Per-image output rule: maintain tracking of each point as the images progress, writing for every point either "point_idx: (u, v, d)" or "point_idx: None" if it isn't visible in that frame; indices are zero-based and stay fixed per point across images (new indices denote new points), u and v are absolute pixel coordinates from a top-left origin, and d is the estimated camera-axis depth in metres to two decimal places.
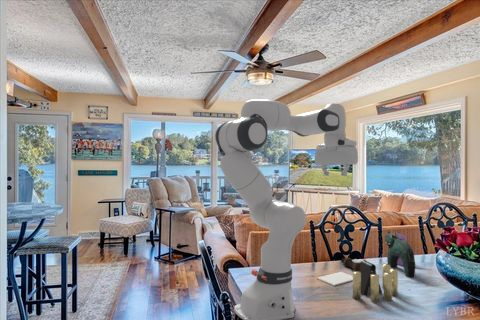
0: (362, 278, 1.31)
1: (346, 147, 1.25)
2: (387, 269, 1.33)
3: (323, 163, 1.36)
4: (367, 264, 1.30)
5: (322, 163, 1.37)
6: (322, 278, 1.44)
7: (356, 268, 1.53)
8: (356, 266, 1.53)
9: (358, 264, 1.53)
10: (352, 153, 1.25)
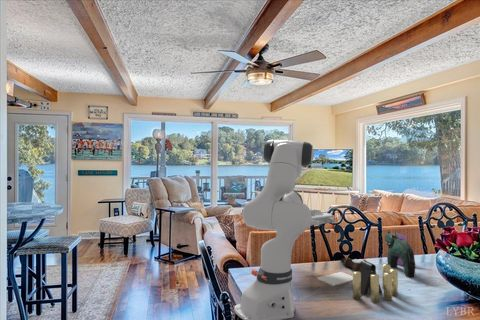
0: (362, 278, 1.31)
1: (321, 212, 1.65)
2: (387, 269, 1.33)
3: (311, 217, 1.53)
4: (367, 264, 1.30)
5: None
6: (322, 278, 1.44)
7: (357, 268, 1.52)
8: (357, 266, 1.53)
9: (359, 264, 1.53)
10: None
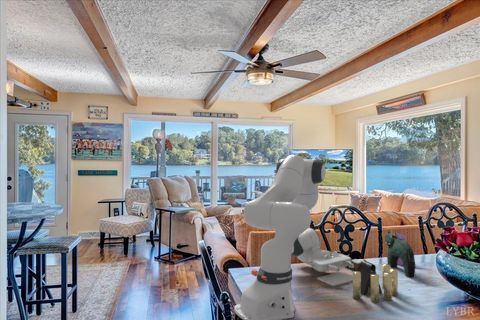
0: (362, 278, 1.31)
1: (338, 253, 1.55)
2: (387, 269, 1.33)
3: (329, 262, 1.43)
4: (367, 264, 1.30)
5: (328, 262, 1.43)
6: (322, 278, 1.44)
7: (359, 269, 1.52)
8: (359, 266, 1.52)
9: None
10: None
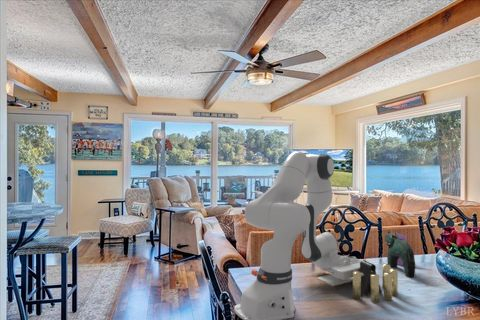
0: (362, 278, 1.31)
1: (357, 259, 1.45)
2: (387, 269, 1.33)
3: (349, 269, 1.34)
4: (367, 264, 1.30)
5: (348, 269, 1.33)
6: (322, 278, 1.44)
7: None
8: None
9: None
10: None
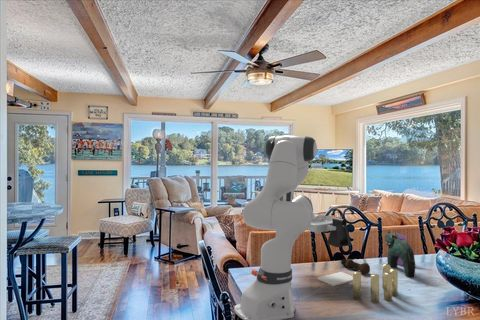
0: (334, 232, 1.43)
1: None
2: (387, 269, 1.33)
3: (323, 223, 1.47)
4: (339, 219, 1.43)
5: (322, 223, 1.46)
6: (322, 278, 1.44)
7: (364, 269, 1.51)
8: (364, 267, 1.51)
9: (365, 265, 1.52)
10: None
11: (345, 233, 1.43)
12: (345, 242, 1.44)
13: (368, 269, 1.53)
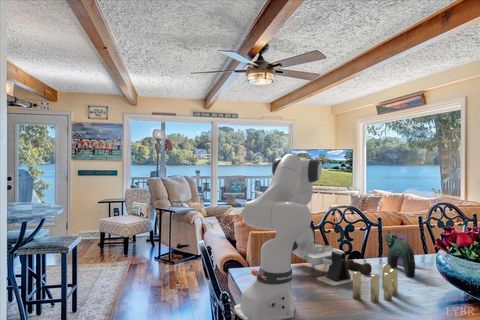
0: (334, 266, 1.43)
1: None
2: (387, 269, 1.33)
3: (323, 256, 1.46)
4: (338, 253, 1.43)
5: (322, 256, 1.46)
6: (322, 278, 1.44)
7: (366, 269, 1.51)
8: (366, 267, 1.51)
9: (367, 265, 1.52)
10: None
11: (344, 267, 1.43)
12: (344, 276, 1.44)
13: (370, 269, 1.52)
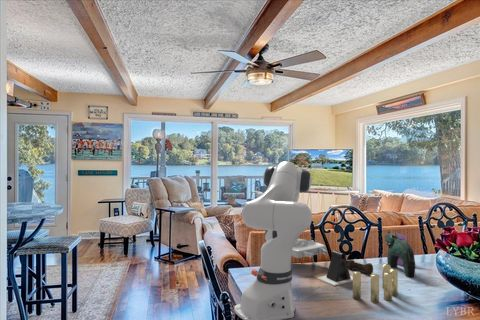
0: (334, 266, 1.43)
1: (314, 242, 1.69)
2: (387, 269, 1.33)
3: (304, 249, 1.57)
4: (338, 253, 1.43)
5: (303, 249, 1.57)
6: (322, 278, 1.44)
7: (368, 269, 1.51)
8: (368, 267, 1.51)
9: (369, 265, 1.51)
10: None
11: (344, 267, 1.43)
12: (344, 276, 1.44)
13: (371, 269, 1.52)
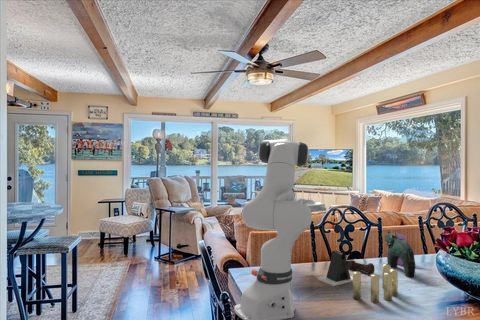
0: (334, 266, 1.43)
1: (313, 201, 1.69)
2: (387, 269, 1.33)
3: None
4: (338, 253, 1.43)
5: None
6: (322, 278, 1.44)
7: (370, 270, 1.51)
8: (370, 268, 1.51)
9: (371, 265, 1.51)
10: None
11: (344, 267, 1.43)
12: (344, 276, 1.44)
13: (373, 269, 1.53)
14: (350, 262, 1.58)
